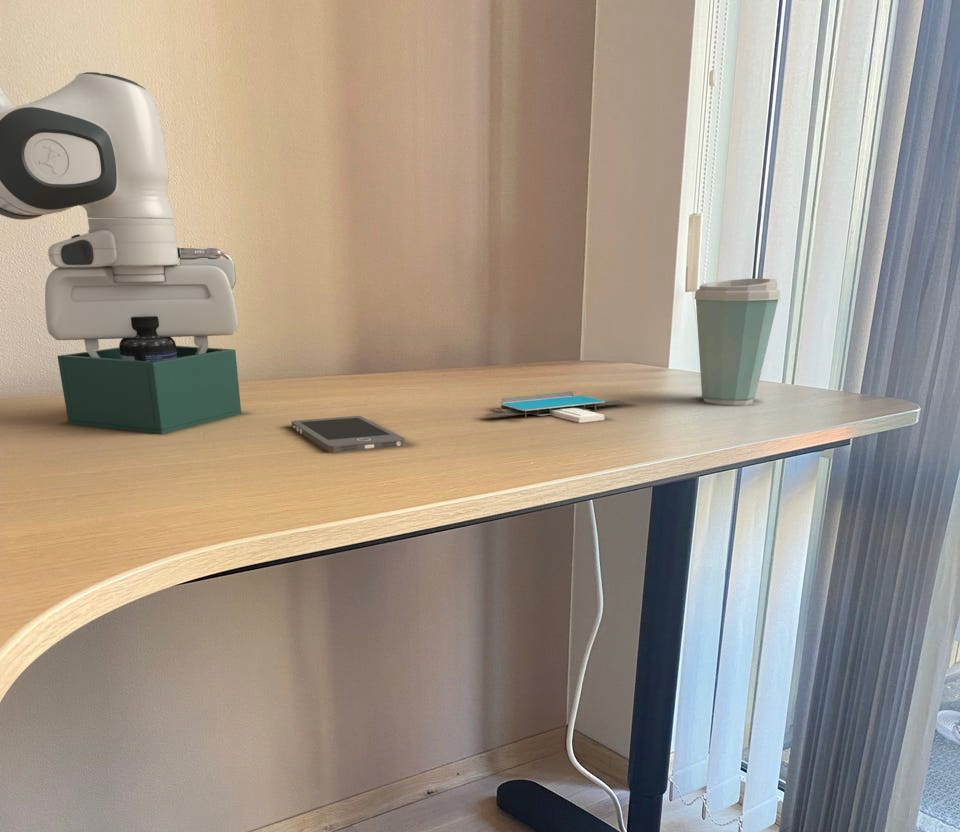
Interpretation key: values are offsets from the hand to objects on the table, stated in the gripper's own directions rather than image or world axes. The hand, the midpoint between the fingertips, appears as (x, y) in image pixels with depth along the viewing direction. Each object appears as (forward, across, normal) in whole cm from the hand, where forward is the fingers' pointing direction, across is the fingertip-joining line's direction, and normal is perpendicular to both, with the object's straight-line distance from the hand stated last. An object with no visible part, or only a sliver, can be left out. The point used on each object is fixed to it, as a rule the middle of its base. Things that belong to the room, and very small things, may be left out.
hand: (152, 379), depth 109 cm
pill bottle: (+4, 0, 0) cm, 4 cm away
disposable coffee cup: (+5, -70, +11) cm, 71 cm away
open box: (+5, 0, 0) cm, 5 cm away
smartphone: (+5, -18, +17) cm, 25 cm away
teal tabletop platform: (+5, -46, +12) cm, 48 cm away
